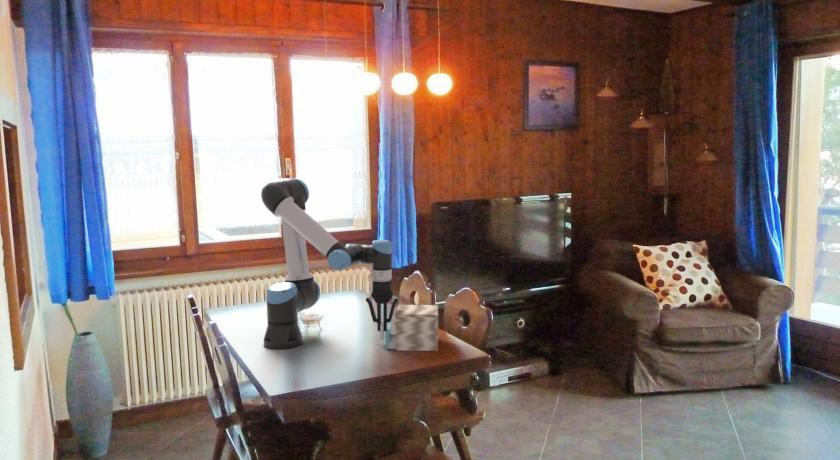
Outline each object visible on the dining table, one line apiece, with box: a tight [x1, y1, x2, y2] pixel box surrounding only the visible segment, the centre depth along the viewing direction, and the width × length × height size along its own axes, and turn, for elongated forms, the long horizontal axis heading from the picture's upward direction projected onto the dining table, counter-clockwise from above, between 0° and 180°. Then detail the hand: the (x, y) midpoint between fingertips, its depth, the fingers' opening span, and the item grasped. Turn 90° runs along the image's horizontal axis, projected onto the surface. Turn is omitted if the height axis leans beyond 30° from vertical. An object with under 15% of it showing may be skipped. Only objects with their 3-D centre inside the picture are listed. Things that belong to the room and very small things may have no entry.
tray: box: [384, 323, 396, 350], centre depth 254 cm, size 19×13×6 cm
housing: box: [394, 304, 439, 352], centre depth 253 cm, size 16×15×14 cm
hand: (382, 339), depth 254 cm, fingers closed
